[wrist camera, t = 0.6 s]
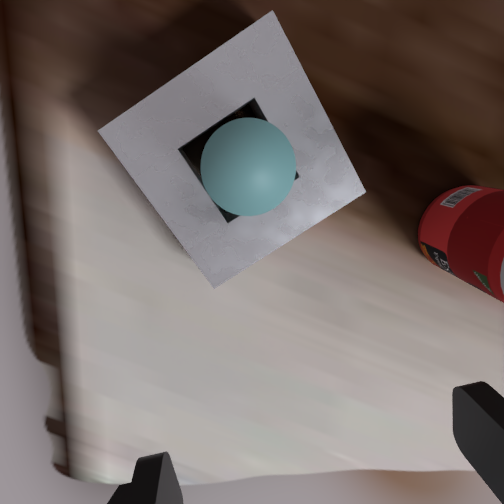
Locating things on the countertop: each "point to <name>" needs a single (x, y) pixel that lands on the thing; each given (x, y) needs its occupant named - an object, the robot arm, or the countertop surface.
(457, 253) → the canned food
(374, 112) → the countertop surface
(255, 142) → the teal cylinder
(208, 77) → the housing
